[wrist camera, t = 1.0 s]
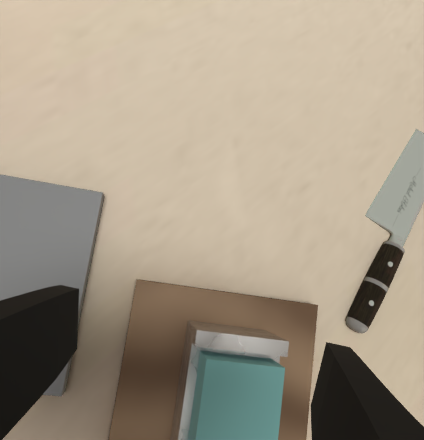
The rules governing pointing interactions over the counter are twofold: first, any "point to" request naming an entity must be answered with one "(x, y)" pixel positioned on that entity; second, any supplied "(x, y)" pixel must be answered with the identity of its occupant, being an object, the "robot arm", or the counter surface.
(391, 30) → the counter surface
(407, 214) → the cleaver
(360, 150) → the counter surface
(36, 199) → the stand
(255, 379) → the cover
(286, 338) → the stand
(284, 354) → the housing base
